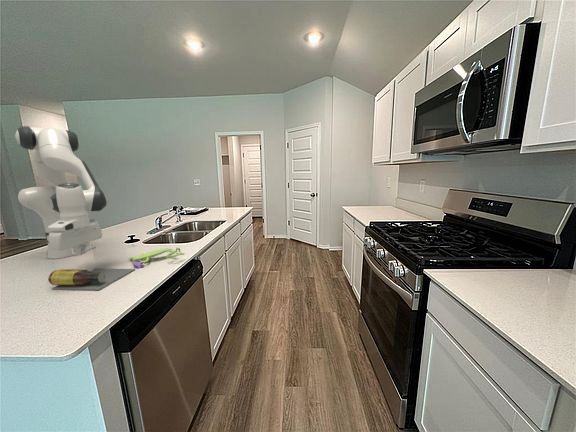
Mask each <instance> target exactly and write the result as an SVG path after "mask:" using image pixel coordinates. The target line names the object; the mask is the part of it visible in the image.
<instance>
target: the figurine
mask: <svg viewBox="0 0 576 432" xmlns="http://www.w3.org/2000/svg"><path fill="white" fill-rule="evenodd" d="M166 252H168V253H167V254H166V255H165V257H166V258H170V259H171V258H172V259H173V258H176V257H178V256H185V252H181V248H180V247H178V246H177V247H176V248H175V249H172V248H168V247H167V248H160V249H159V248H158V249H155V250H151V251H148V252H145V253H141V254H139V255H137V256H136V255H135V256H131V257H130V258H129V261H134V262H133V263H132V266H133V268H134V269H140V268H144V267H145V266H144V263H147V262H149V261H150V258H152V259H154V258H156V257H157V256H160V255H163V254H165V253H166ZM179 252H180V253H179ZM173 254H174V255H173Z"/></svg>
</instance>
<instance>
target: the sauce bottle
mask: <svg viewBox="0 0 576 432" xmlns="http://www.w3.org/2000/svg"><path fill="white" fill-rule="evenodd" d="M105 278H106V275H105V273H103V272H99V273H94V272H91V270H88V269H74V268H73V269H55V270H53V271H51V273H49V275H48V278H47V279H48V283H49V284H50V285H53V286H58V285H86V284H88V283H90V282H98V283H101V282H103V281H104V280H105Z"/></svg>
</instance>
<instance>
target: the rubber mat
mask: <svg viewBox="0 0 576 432" xmlns="http://www.w3.org/2000/svg"><path fill="white" fill-rule="evenodd" d="M90 271H91V272H94V273H99V272H103V273H105V275H106V278H105V280H104V281H103V282H101V283H98V282H90V283H88V284H86V285H55V286H54V287H52V288H51V290H53V291H85V292H86V291H87V292H88V291H90V292H91V291H92V292H94V291H95V292H99V291H101V290H103V289H106V287H109V286H110V285H112V284H113V283H115V282H117V281H119V280H121V279H122V278H124V277H126V276H128V275H130V274H131V273H133V272H134V271H136V268H102V267H101V268H93V269H91V270H90Z"/></svg>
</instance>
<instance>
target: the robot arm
mask: <svg viewBox="0 0 576 432" xmlns="http://www.w3.org/2000/svg"><path fill="white" fill-rule="evenodd" d="M14 137H15V140H16V142H17V143H18V144H19V146H20V147H21V148H23V149H25V150H30V151H33V152H32V153H33V163H34V171H35V175H36V177H38V178H39V179H42V180H44V181H47V182H50V183H51V184H52V185H50V186H49V185H48V186H47V185H46V186H33V187H28V188H27V187H26V188H22V189H20V190H19V192H18V194H17V199H18V202H19V204H21V205H22V206H23V207H24V208H27V209H29V210H32V211H34V212H35V213H36V214H38V215H39V217H40V218H41V221H42V222H43V225H44V228H45V232H44V236H45V239H46V242H47V256H46V258H47V259H54V260H55V259H62V258H68V257H72V256H73V257H74V256H82V255H85V254H86V253H87V252H88V251H91V250H93V249H95V248H97V247H96V245H94V244H91V242H92V241H96V240H100V239H102V237H103V232H102V229H101V225H100V224H99V223H100V222H99V221H98V220H97V219H95V218H91V219H90V218H89V212H100V211H102V210H103V209H105V208H106V207H107V205H108V204H107V200H108V199H107V197H106V195H105V194H104V192H103V190H102V189H101V187H100V186H99V184H98V182H97V181H96V178H95V176H94V175H93V173H92V172H91V170H90V168H89V167H88V165H87V164H86V162H85V161H84V160H82V159H80V158H79V157H77V156H76V155H75V154H74V152H76V151H78V150H79V147H80V143H81V142H80V139H79V137H78V135H77V134H76V133H75V132H74V131H70V130H68V129H67V130H64V129H59V128H54V127H41V126H39V127H38V126H37V127H36V126H29V125H27V126H26V125H25V126H19V127H18V128H17V129H16V132H15V135H14ZM66 173H67V174H72V175H74V176H76V177H78V178H80V179H81V180H82V182H83V184H84V186H85V188H86V189H83V188H82V186H81V184H78V183H73V182H70V181H69V179H68V178H67V175H66Z"/></svg>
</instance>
